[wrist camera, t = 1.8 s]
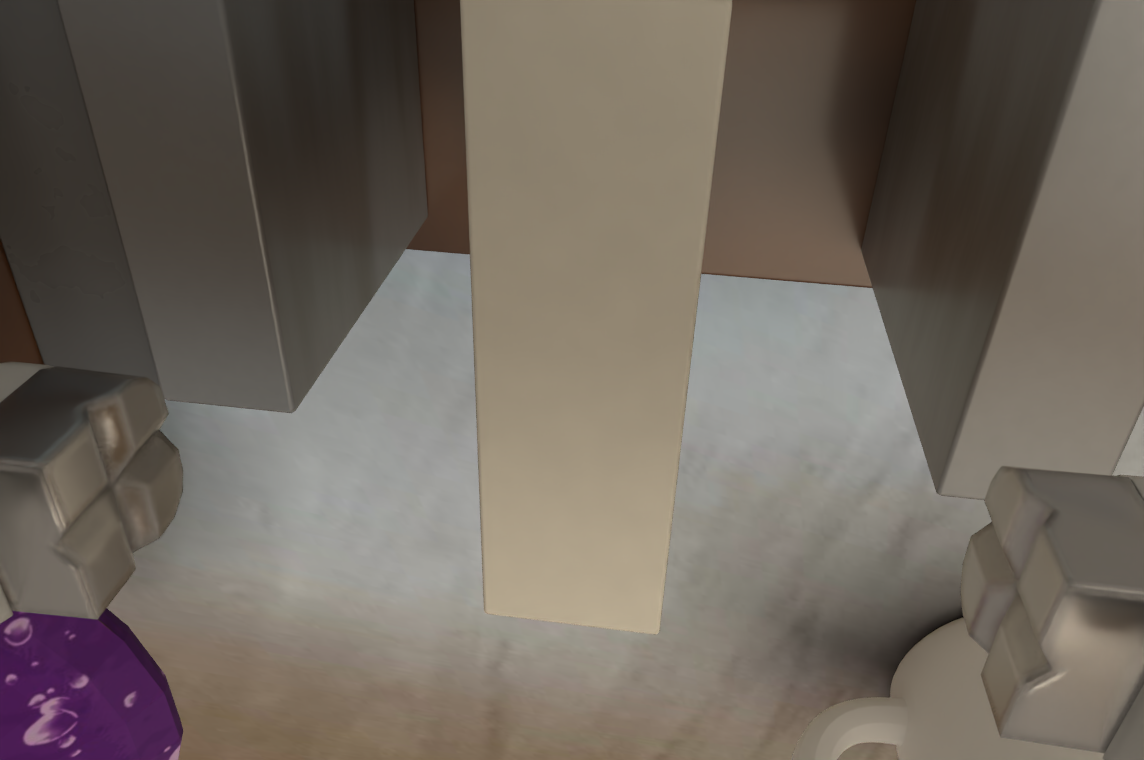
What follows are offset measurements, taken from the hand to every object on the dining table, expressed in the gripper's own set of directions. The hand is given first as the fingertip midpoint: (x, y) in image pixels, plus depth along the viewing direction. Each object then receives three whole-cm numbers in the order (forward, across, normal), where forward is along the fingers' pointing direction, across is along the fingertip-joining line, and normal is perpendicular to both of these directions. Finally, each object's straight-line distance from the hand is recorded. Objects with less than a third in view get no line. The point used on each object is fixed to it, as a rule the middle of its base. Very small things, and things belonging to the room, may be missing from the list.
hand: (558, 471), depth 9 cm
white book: (+14, 0, 0) cm, 14 cm away
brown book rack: (+15, +2, 0) cm, 15 cm away
